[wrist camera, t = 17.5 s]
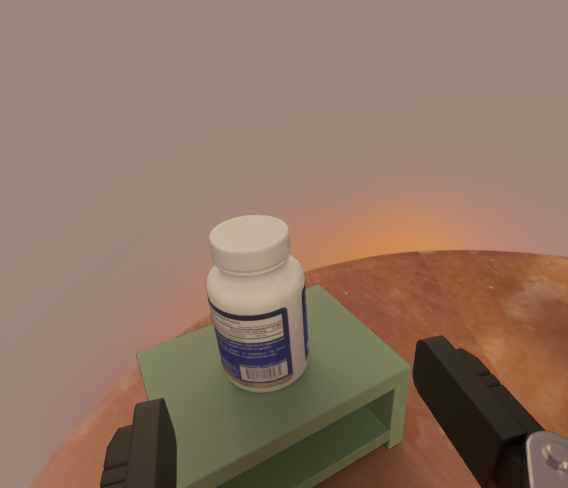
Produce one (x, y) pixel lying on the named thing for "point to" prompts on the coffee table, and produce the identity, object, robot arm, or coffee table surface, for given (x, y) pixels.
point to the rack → (280, 405)
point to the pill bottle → (258, 303)
